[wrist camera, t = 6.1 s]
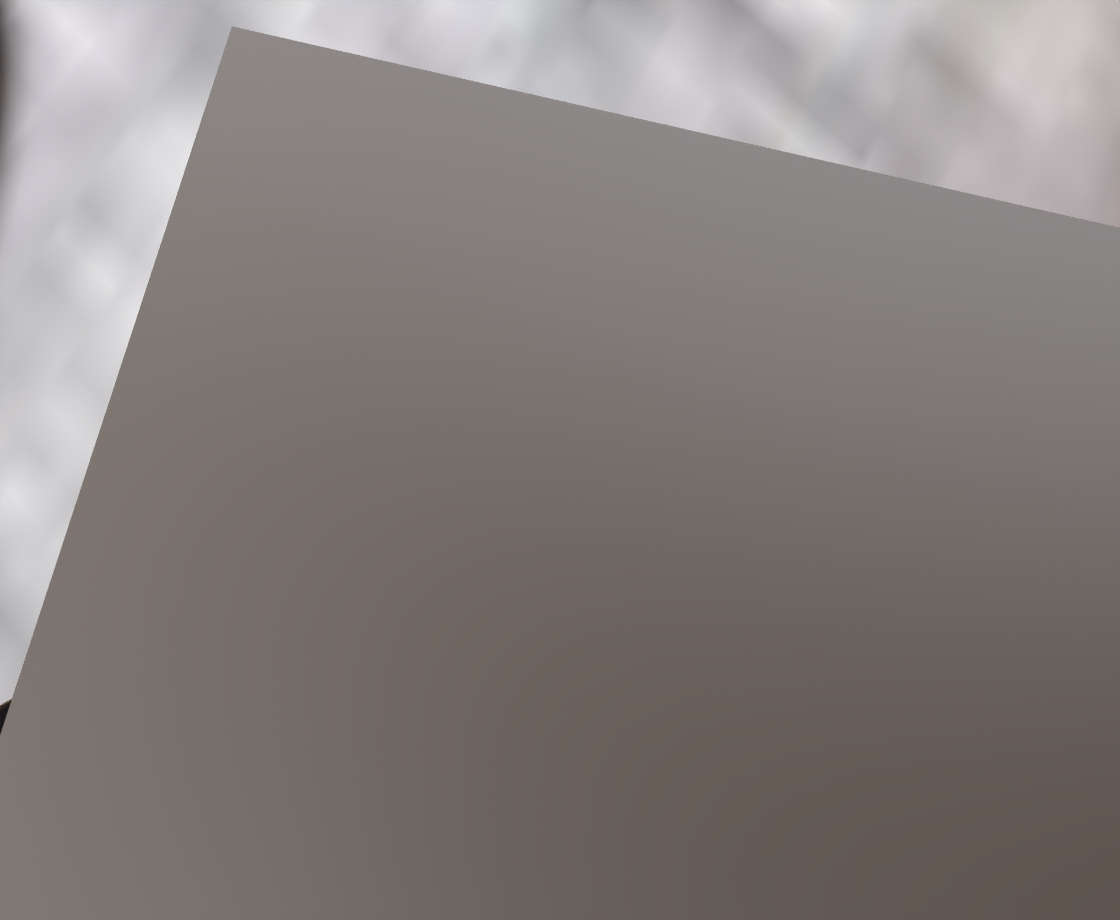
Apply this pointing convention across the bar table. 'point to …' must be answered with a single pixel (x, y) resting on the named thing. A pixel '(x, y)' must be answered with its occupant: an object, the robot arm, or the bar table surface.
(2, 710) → the robot arm
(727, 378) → the box
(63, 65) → the bar table surface
